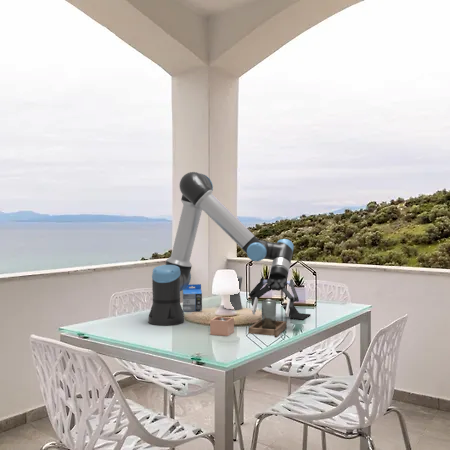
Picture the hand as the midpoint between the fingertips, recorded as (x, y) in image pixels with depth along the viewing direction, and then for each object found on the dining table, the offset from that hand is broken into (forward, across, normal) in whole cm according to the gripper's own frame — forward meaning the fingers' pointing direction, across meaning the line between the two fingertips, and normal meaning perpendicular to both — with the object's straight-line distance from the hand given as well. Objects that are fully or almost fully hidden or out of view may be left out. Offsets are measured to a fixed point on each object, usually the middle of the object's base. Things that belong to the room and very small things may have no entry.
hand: (269, 313), depth 203 cm
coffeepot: (-22, +30, -32) cm, 49 cm away
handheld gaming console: (-15, -4, -25) cm, 30 cm away
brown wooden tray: (+6, 0, -4) cm, 7 cm away
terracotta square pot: (+14, +15, +4) cm, 21 cm away
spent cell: (+13, +15, +5) cm, 21 cm away
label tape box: (-13, +45, -23) cm, 52 cm away
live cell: (+5, 0, -4) cm, 6 cm away
